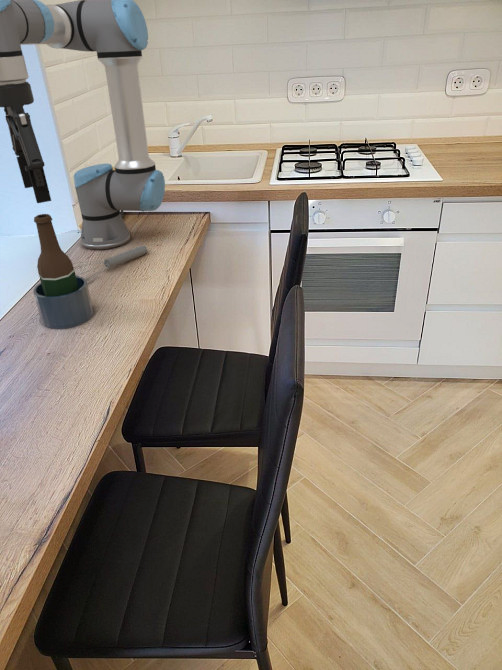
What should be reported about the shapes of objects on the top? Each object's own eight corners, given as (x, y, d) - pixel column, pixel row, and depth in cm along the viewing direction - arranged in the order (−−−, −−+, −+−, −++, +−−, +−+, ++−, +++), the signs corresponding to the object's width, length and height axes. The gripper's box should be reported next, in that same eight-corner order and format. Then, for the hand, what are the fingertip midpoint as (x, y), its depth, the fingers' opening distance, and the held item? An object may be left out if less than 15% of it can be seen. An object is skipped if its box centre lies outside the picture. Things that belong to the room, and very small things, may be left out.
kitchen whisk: (157, 252, 157) (154, 232, 154) (67, 298, 133) (61, 276, 130) (142, 249, 160) (139, 229, 157) (52, 293, 136) (45, 271, 133)
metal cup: (59, 303, 131) (51, 273, 127) (102, 306, 128) (95, 276, 124) (31, 326, 121) (22, 295, 117) (77, 330, 118) (69, 299, 114)
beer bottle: (65, 325, 120) (39, 223, 107) (43, 317, 123) (15, 218, 111) (91, 310, 125) (68, 212, 113) (68, 303, 129) (44, 208, 117)
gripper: (-21, 79, 107) (9, 184, 118) (-4, 89, 88) (29, 212, 99) (18, 76, 110) (43, 178, 121) (42, 85, 91) (69, 204, 102)
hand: (37, 194), depth 110 cm, fingers open, 13 cm apart
